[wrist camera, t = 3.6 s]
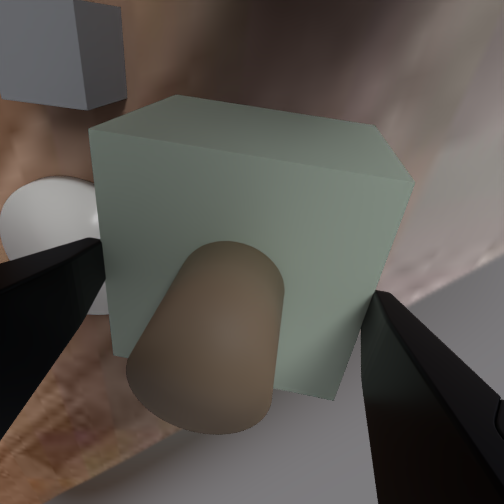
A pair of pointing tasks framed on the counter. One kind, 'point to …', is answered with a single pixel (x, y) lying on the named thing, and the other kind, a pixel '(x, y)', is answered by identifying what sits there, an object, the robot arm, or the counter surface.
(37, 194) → the saucer
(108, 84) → the slate cube
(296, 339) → the sage camera
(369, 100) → the counter surface
